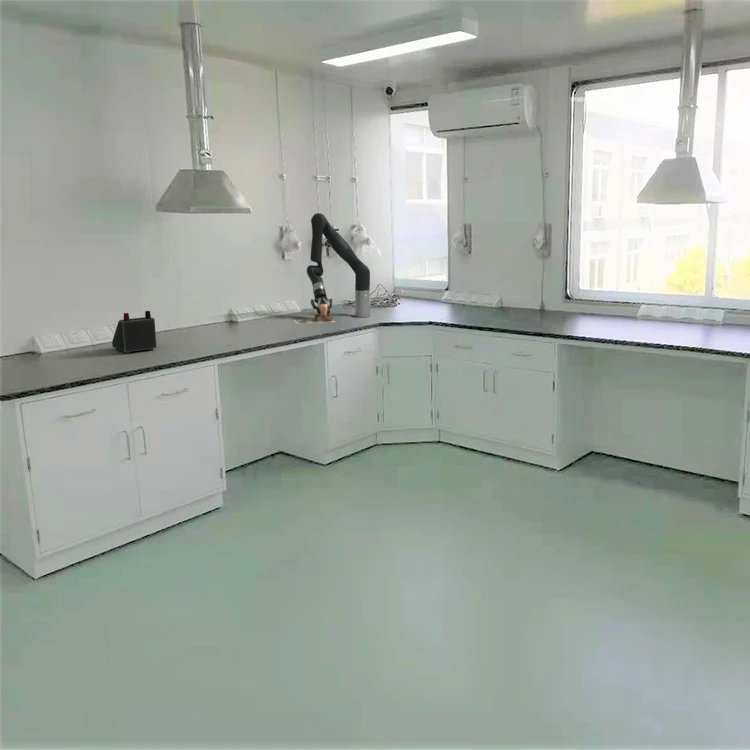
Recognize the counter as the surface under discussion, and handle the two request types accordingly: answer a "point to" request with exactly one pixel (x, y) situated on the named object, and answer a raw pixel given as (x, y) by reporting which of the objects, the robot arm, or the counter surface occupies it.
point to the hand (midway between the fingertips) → (324, 313)
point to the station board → (316, 320)
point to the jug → (323, 310)
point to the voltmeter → (135, 334)
